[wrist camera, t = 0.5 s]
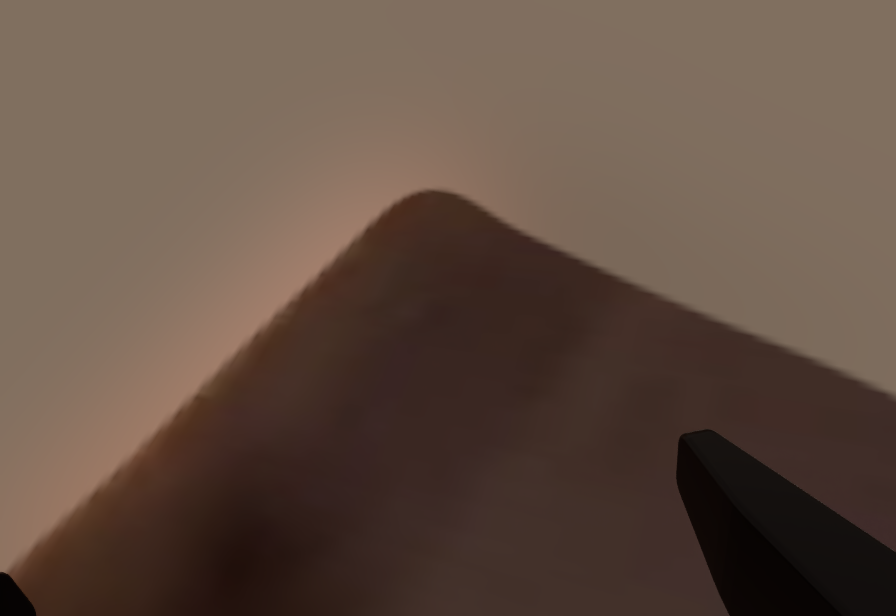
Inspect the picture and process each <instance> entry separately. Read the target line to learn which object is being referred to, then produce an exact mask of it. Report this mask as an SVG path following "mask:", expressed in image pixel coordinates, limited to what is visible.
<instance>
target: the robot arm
mask: <svg viewBox="0 0 896 616" xmlns="http://www.w3.org/2000/svg"><path fill="white" fill-rule="evenodd" d="M676 479H677V485H678V489H679V492H680V495H681V498H682V500H683V503H684V505H685V508H686V511H687V513H688V516H689V518H690V521H691V523H692V526H693V529H694V531H695V534H696V536H697V539H698V541H699V544H700V547H701V549H702V552H703V554H704V557H705V560H706V562H707V565H708V567H709V570H710V572H711V575H712V578H713V580H714V582H715V585H716V587H717V590H718V592H719V595H720V597H721V599H722V601H723V603H724V605H725V607H726V609H727V611H728V613H729V615H730V616H896V552H895V551H893V550H892V549H890V548H889V547H887V546H886V545H884V544H883V543H881V542H880V541H878V540H877V539H875V538H874V537H872V536H871V535H869V534H868V533H866V532H865V531H863V530H862V529H860V528H859V527H857V526H856V525H854V524H853V523H851V522H850V521H848V520H847V519H845V518H844V517H842V516H841V515H839V514H838V513H836V512H835V511H833V510H832V509H830V508H829V507H827V506H826V505H824V504H823V503H821V502H820V501H818V500H817V499H815V498H814V497H812V496H811V495H809V494H808V493H806V492H805V491H803V490H802V489H800V488H799V487H797V486H796V485H794V484H793V483H791V482H790V481H788V480H787V479H785V478H784V477H782V476H781V475H780V474H778V473H777V472H775V471H774V470H772V469H771V468H769V467H768V466H766V465H765V464H763V463H762V462H760V461H759V460H757V459H756V458H754V457H753V456H751V455H750V454H748V453H747V452H745V451H744V450H742V449H741V448H739V447H738V446H736V445H735V444H733V443H732V442H730V441H729V440H727V439H726V438H724V437H723V436H721V435H720V434H718V433H717V432H715V431H713V430H710V429H704V430H699V431H694V432H689V433H684V434H682V435H681V436H680V438H679V442H678V456H677V471H676ZM0 616H36V612H35V609H34V607H33V605H32V603H31V602H30V601H29V600H28V598H27V597H26V596H25V595H24V593H23V592H22V591H21V589H20V588H19V587H18V586H17V584H16V583H15V582H14V580H13V579H12V578H11V577H10V576H9V575H8V574H6V573H4V572H0Z"/></svg>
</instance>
